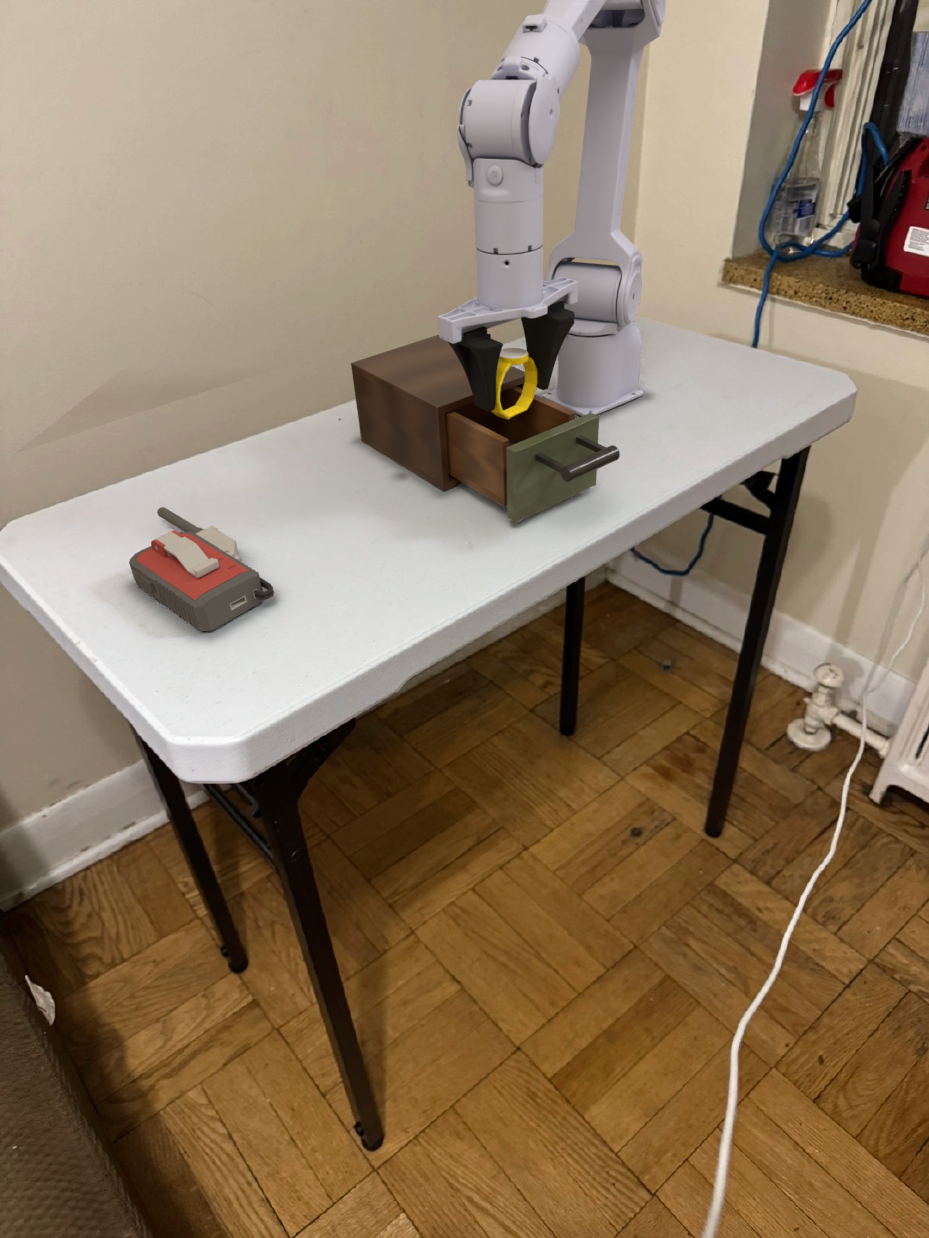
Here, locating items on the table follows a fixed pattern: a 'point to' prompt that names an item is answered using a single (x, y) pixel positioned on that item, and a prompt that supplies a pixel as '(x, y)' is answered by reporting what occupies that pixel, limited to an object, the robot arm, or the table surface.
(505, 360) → the watch
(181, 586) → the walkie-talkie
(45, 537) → the table surface
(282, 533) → the table surface
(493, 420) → the drawer
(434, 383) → the cabinet
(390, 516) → the table surface
